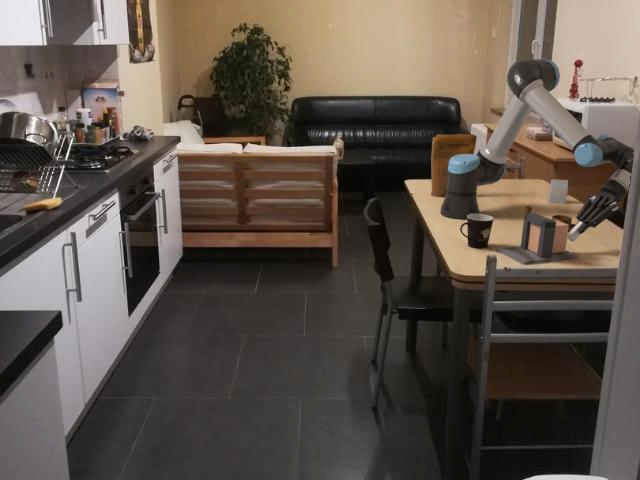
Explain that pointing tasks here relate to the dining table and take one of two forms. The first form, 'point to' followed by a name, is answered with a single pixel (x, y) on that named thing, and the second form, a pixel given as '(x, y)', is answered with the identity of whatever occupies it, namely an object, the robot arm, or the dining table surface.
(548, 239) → the dark grey archway
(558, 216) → the place setting
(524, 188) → the dining table surface
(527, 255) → the base board
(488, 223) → the coffee mug
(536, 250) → the peach box
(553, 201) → the tea bag
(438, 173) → the pancake mix bag
